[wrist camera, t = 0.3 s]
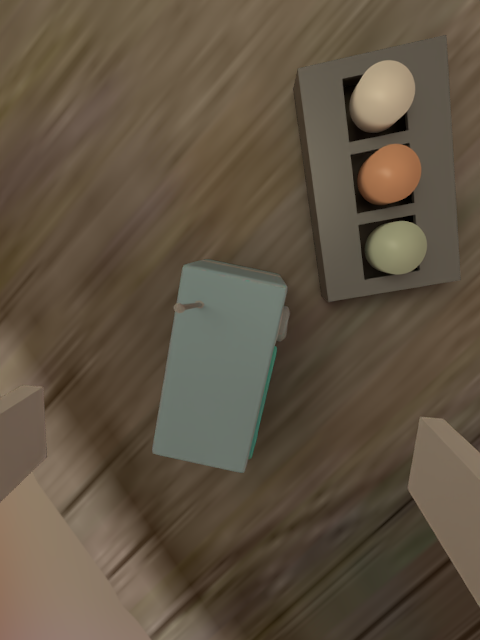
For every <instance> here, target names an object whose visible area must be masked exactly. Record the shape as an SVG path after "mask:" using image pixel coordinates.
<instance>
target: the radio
mask: <svg viewBox="0 0 480 640" xmlns="http://www.w3.org/2000/svg"><path fill="white" fill-rule="evenodd" d="M287 289H288V288H287V285H286V284H285V282H284V281H283V279H282V278H281V276H280V275H279V274H277V273H272V272H268V271H263V270H258V269H253V268H249V267H244V266H239V265H234V264H229V263H225V262H220V261H215V260H210V259H204V260H201V261H196V262H193V263H189V264H185V265H184V266H183V268H182V274H181V280H180V286H179V292H178V298H177V304H175V306H174V311H175V316H174V322H173V328H172V334H171V340H170V346H169V352H168V358H167V364H166V370H165V376H164V382H163V388H162V394H161V400H160V406H159V412H158V418H157V424H156V430H155V436H154V442H153V449H152V452H153V453H154V454H157V455H161V456H165V457H170V458H174V459H179V460H184V461H188V462H193V463H198V464H202V465H207V466H211V467H216V468H221V469H225V470H230V471H235V472H240V473H243V472H244V471H245V469H246V466H247V462H248V459H251V458H252V455H253V451H254V447H255V445H256V440H257V436H258V430H259V425H260V421H261V417H262V413H263V408H264V404H265V400H266V396H267V391H268V387H269V383H270V379H271V374H272V370H273V366H274V362H275V357H276V352H277V347H276V346H275V344H276V341H282V340H283V339H284V338H285V337H286V334H287V326H288V320H289V317H290V311H289V308H288V307H287V306H284V303H285V299H286V295H287Z"/></svg>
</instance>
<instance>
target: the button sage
mask: <svg viewBox="0 0 480 640" xmlns="http://www.w3.org/2000/svg"><path fill="white" fill-rule="evenodd" d="M426 251H427V240H426V237H425V234H424V233H423V231H422V230H421V229H420V228H419V227H418V226H417V225H415V224H414V223H411V222H408V221H397V222H391V223H386V224H382V225H380V226H378V227H377V228H375V229H374V230H373V231H372V232H371V233H370V235H369V236H368V238H367V240H366V243H365V256H366V259H367V261H368V262H369V264H370V265H371V266H372V267H373V268H375V269H376V270H378V271H381V272H386V273H390V274H405V273H408V272H410V271H412V270H414V269H415V268H416V267H417V266H419V264H420V263H421V262H422V261H423V259H424V257H425V254H426Z"/></svg>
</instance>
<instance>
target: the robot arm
mask: <svg viewBox="0 0 480 640" xmlns="http://www.w3.org/2000/svg"><path fill="white" fill-rule="evenodd" d="M46 457H47V447H46V429H45V411H44V393H43V387H39V386H27V385H22V386H20V387H18V388H16V389H15V390H13V391H11V392H9V393H8V394H6V395H4V396H2V397H1V398H0V502H1V501H2V500H3V499H4V498H5V497H6V496H7V495H8V494H9V493H10V492H11V491H12V490H13V489H14V488H16V487H17V486H18V485H19V484H20V483H21V482H22V481H23V480H24V479H25V478H26V477H27V476H28V475H29V474H30V473H31V472H32V471H33V470H34V469H35V468H36V467H37V466H38V465H39V464H40V463H41V462H42V461H43V460H44V459H45V458H46ZM408 490H409V492H410V494H411V495H412V497H413V499H414V500H415V502H416V504H417V505H418V507H419V508H420V510H421V512H422V513H423V515H424V517H425V518H426V520H427V522H428V523H429V525H430V527H431V528H432V530H433V531H434V533H435V535H436V536H437V538H438V540H439V541H440V543H441V545H442V546H443V548H444V550H445V551H446V553H447V554H448V556H449V558H450V559H451V561H452V563H453V564H454V566H455V568H456V569H457V571H458V573H459V574H460V576H461V577H462V579H463V581H464V582H465V584H466V586H467V587H468V589H469V591H470V592H471V594H472V596H473V597H474V599H475V600H476V602H477V604H478V605H479V607H480V453H479V452H478V451H477V450H476V449H475V448H474V447H473V446H472V445H471V444H470V443H469V442H467V441H466V440H465V439H464V438H463V437H462V436H461V435H460V434H459V433H458V432H457V431H456V430H455V429H454V428H452V427H451V426H450V425H449V424H448V423H447V422H446V421H445V420H444V419H440V418H428V417H420V420H419V426H418V431H417V437H416V443H415V449H414V454H413V460H412V466H411V472H410V478H409V483H408Z"/></svg>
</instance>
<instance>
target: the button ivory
mask: <svg viewBox="0 0 480 640" xmlns="http://www.w3.org/2000/svg"><path fill="white" fill-rule="evenodd" d="M414 95H415V82H414V78H413V76H412V74H411V72H410V71H409V69H408V68H407V67H406V66H405V65H403V64H402V63H400V62H397V61H393V60H385V61H381V62H378V63H376V64H374V65H372V66H371V67H370V68H369V69H368V70H367V71H366V72H365V73H364V74H363V76H362V78H361V79H360V81H359V83H358V84H357V86H356V88H355V89H354V91H353V93H352V95H351V98H350V102H349V112H350V116H351V119H352V121H353V122H354V124H355V125H356V126H357V127H358V128H359V129H361V130H363V131H365V132H368V133H379V132H382V131H384V130H386V129H388V128H389V127H391V126H392V125H393V124H394V123H395V122H396V121H397V120H398V119H400V118H401V117H402V116H403V115H404V114H405V113H406V112H407V111H408V109H409V108H410V106H411V104H412V102H413V99H414Z"/></svg>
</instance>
